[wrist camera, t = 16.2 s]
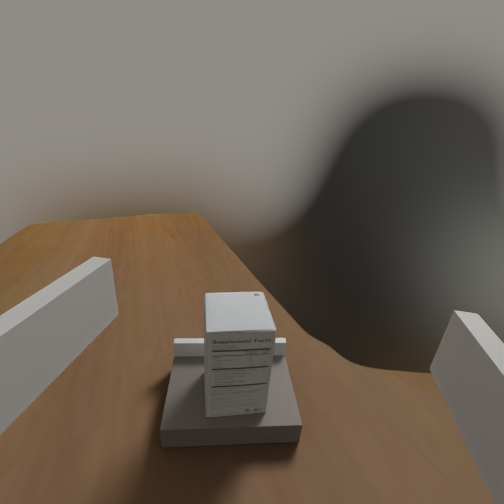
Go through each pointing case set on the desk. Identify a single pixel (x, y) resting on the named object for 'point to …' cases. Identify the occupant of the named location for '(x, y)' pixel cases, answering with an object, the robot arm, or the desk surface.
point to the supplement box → (237, 353)
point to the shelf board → (225, 427)
